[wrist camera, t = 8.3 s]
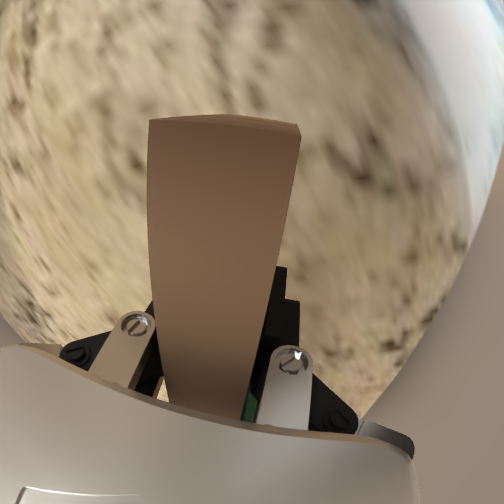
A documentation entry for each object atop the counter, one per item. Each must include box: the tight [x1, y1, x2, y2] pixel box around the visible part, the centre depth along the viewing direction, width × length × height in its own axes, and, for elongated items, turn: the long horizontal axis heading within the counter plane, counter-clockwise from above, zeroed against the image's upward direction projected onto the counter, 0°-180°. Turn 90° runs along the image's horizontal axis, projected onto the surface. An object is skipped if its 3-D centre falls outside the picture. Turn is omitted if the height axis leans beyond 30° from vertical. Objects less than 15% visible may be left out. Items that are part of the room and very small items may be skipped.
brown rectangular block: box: [147, 114, 301, 421], centre depth 10 cm, size 14×2×6 cm, turn 172°
